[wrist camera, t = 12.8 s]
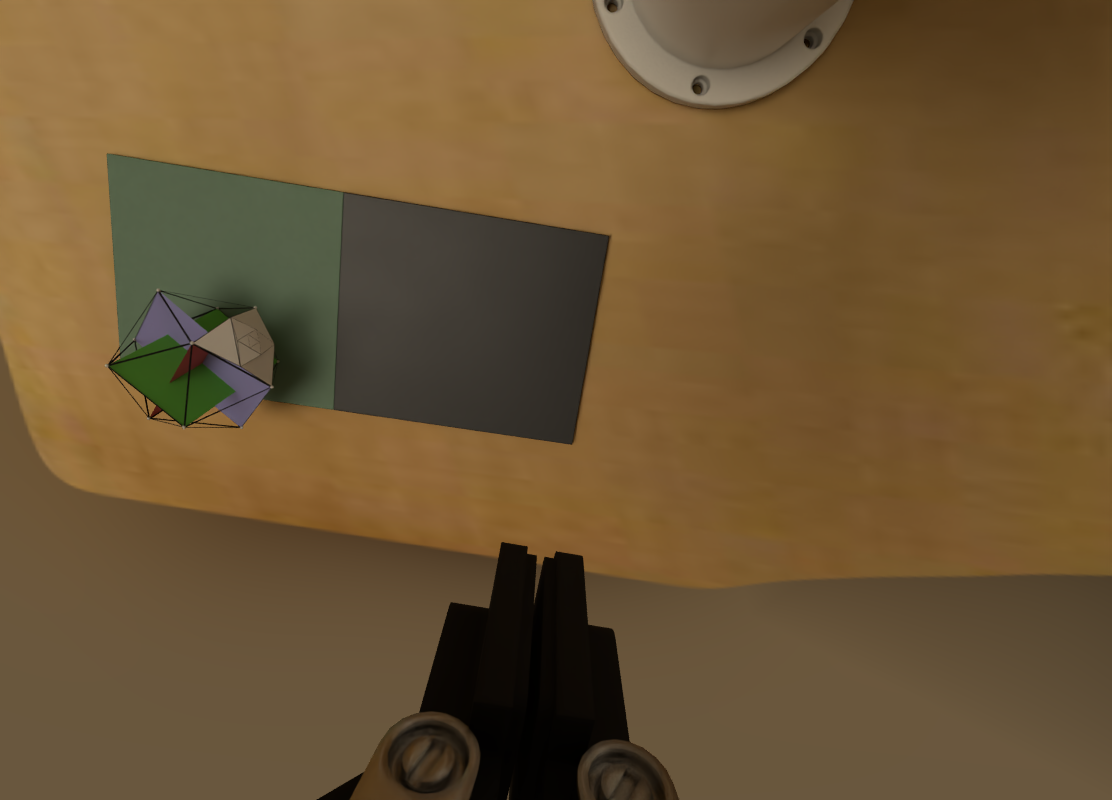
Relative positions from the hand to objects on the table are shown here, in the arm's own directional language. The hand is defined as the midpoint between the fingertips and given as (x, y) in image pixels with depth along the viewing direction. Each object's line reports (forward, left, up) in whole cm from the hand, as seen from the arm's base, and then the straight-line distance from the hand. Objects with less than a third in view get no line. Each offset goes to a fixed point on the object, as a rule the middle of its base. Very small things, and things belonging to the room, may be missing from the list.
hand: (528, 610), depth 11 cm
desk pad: (-1, -11, -22) cm, 24 cm away
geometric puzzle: (+2, -17, -22) cm, 28 cm away
